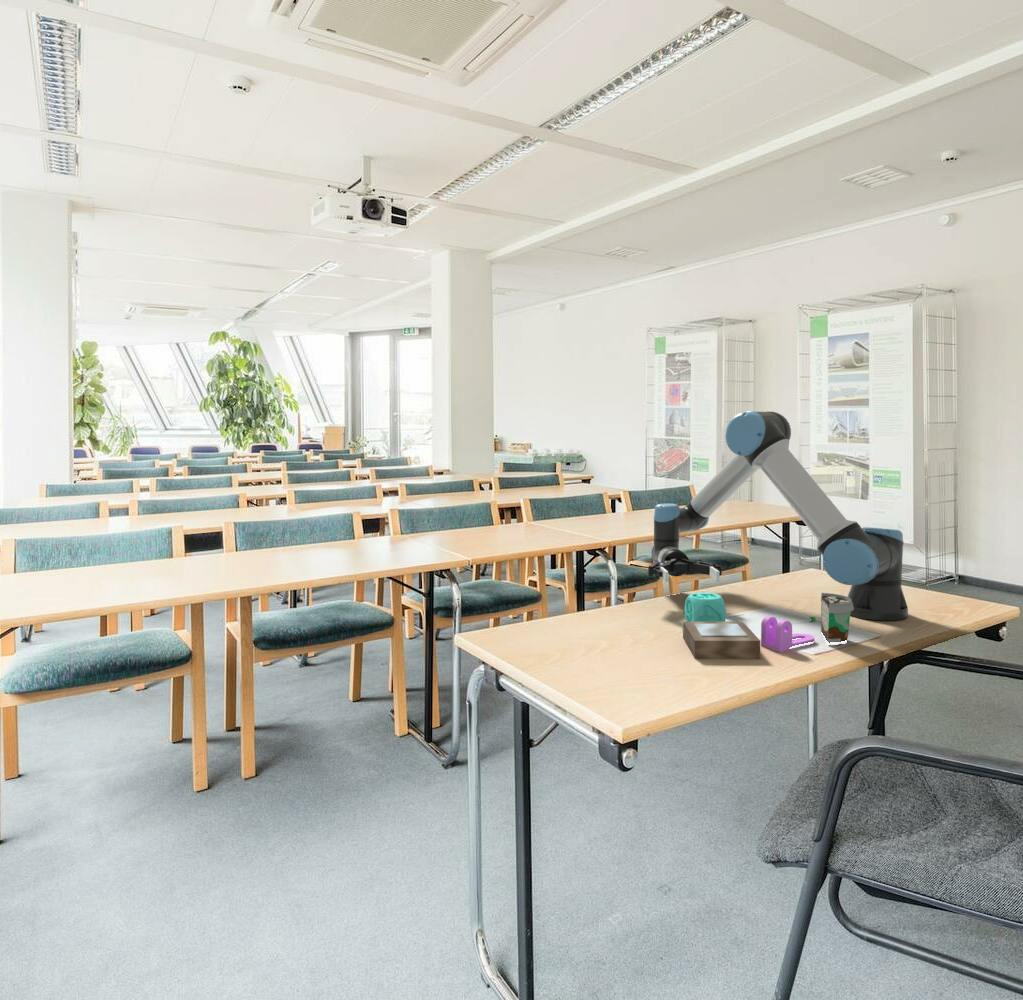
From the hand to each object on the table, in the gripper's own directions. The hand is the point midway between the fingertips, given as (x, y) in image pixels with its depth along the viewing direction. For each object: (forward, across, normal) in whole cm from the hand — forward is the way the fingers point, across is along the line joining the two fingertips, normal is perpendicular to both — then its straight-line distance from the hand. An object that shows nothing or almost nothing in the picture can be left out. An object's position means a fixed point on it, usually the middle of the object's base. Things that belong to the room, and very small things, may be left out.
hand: (692, 576), depth 200 cm
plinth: (+29, +1, -10) cm, 30 cm away
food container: (+25, -28, -10) cm, 39 cm away
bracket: (+27, -16, -11) cm, 33 cm away
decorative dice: (+11, 0, -11) cm, 15 cm away
